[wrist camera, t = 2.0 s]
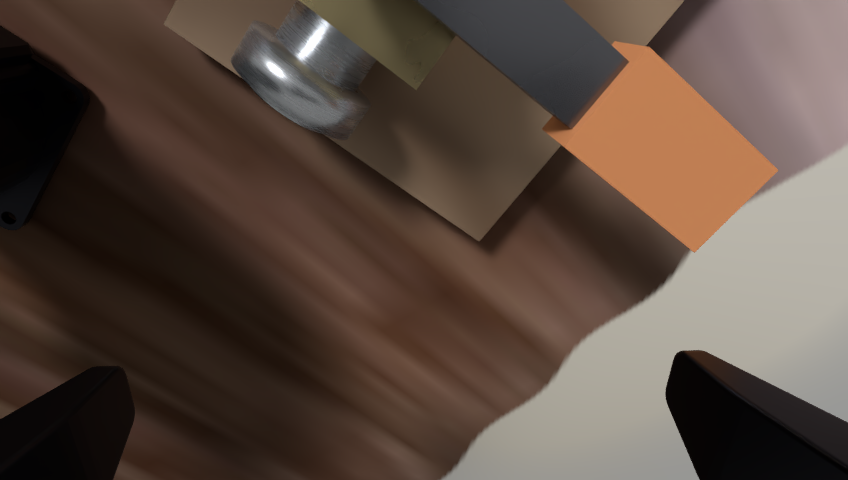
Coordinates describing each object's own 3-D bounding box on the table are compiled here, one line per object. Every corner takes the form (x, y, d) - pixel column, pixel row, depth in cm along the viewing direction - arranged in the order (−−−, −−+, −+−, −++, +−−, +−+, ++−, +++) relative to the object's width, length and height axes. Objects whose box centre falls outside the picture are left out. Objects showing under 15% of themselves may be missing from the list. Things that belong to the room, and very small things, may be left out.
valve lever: (310, -59, 11) (297, -70, 10) (380, -178, 10) (379, -211, 9) (659, 224, 15) (694, 252, 13) (731, 150, 14) (778, 170, 12)
